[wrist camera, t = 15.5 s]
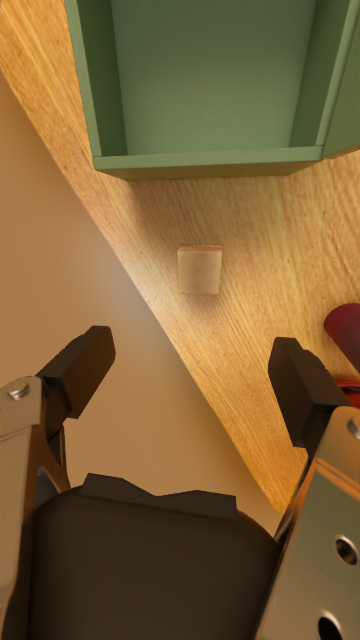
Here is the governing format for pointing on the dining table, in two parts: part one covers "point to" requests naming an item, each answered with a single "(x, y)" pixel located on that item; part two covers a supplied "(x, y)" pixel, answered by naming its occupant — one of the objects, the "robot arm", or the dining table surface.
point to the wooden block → (199, 269)
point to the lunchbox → (209, 83)
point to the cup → (346, 331)
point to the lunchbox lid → (347, 108)
